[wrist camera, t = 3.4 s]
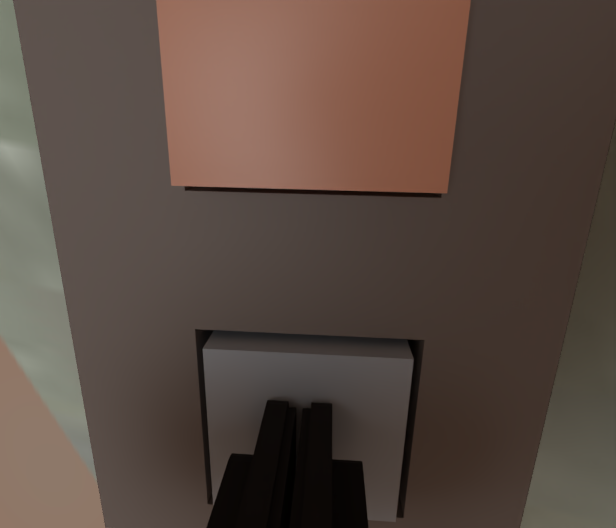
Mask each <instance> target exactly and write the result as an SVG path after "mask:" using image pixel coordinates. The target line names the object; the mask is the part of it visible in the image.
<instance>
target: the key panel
mask: <svg viewBox="0 0 616 528" xmlns="http://www.w3.org/2000/svg"><path fill="white" fill-rule="evenodd" d="M13 3H14V8H15V14H16V20H17V25H18V31H19V37H20V42H21V48H22V54H23V60H24V65H25V71H26V77H27V82H28V88H29V94H30V100H31V105H32V111H33V117H34V122H35V128H36V134H37V139H38V145H39V151H40V157H41V162H42V168H43V174H44V179H45V185H46V191H47V197H48V202H49V208H50V214H51V219H52V225H53V231H54V236H55V242H56V248H57V254H58V259H59V265H60V271H61V276H62V282H63V288H64V294H65V299H66V305H67V311H68V316H69V322H70V328H71V334H72V339H73V345H74V351H75V356H76V362H77V368H78V373H79V379H80V385H81V391H82V396H83V402H84V408H85V413H86V419H87V425H88V431H89V436H90V442H91V448H92V453H93V459H94V465H95V470H96V476H97V482H98V488H99V493H100V499H101V505H102V510H103V516H104V522H105V527H106V528H206V527H207V524H208V521H209V518H210V515H211V512H212V509H213V496H212V481H211V466H210V451H209V436H208V422H207V407H206V392H205V377H204V362H203V347H204V346H205V344H206V342H207V341H208V339H209V337H210V336H211V334H212V333H213V331H214V330H222V331H243V332H265V333H286V334H307V335H328V336H350V337H371V338H392V339H407V341H408V344H409V347H410V350H411V353H412V355H413V358H414V362H413V371H412V380H411V389H410V398H409V406H408V415H407V424H406V433H405V442H404V451H403V460H402V469H401V478H400V487H399V496H398V505H397V514H396V522H388V521H374V520H368V528H520V525H521V521H522V516H523V512H524V508H525V504H526V499H527V495H528V491H529V487H530V482H531V478H532V474H533V470H534V465H535V461H536V457H537V453H538V448H539V444H540V440H541V436H542V431H543V427H544V423H545V419H546V414H547V410H548V406H549V402H550V397H551V393H552V389H553V385H554V380H555V376H556V372H557V368H558V363H559V359H560V355H561V351H562V346H563V342H564V338H565V334H566V329H567V325H568V321H569V317H570V312H571V308H572V304H573V300H574V295H575V291H576V287H577V283H578V278H579V274H580V270H581V265H582V261H583V257H584V253H585V248H586V244H587V240H588V236H589V231H590V227H591V223H592V219H593V214H594V210H595V206H596V202H597V197H598V193H599V189H600V185H601V180H602V176H603V172H604V168H605V163H606V159H607V155H608V151H609V146H610V142H611V138H612V134H613V129H614V125H615V121H616V0H471V3H470V11H469V19H468V27H467V35H466V44H465V52H464V60H463V68H462V76H461V84H460V92H459V101H458V109H457V117H456V125H455V133H454V141H453V150H452V158H451V166H450V174H449V182H448V190H447V193H414V192H378V191H342V190H306V189H270V188H234V187H198V186H171V176H170V164H169V152H168V140H167V128H166V115H165V103H164V91H163V79H162V67H161V55H160V42H159V30H158V18H157V6H156V0H13Z"/></svg>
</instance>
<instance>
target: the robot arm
mask: <svg viewBox="0 0 616 528" xmlns="http://www.w3.org/2000/svg"><path fill="white" fill-rule="evenodd" d="M206 528H368V517H367V506H366V495H365V484H364V472H363V464H362V461H353V460H337V459H332V403H314V402H311V408H303V410H302V419H301V428H300V437H299V446H298V455H297V464H296V407H289V402H288V401H276V400H267V403H266V406H265V410H264V414H263V418H262V422H261V426H260V430H259V434H258V438H257V442H256V446H255V450H254V454H236V453H232V454H231V455H230V457H229V460H228V462H227V466H226V469H225V472H224V475H223V478H222V481H221V484H220V487H219V490H218V493H217V496H216V500H215V503H214V506H213V509H212V512H211V515H210V518H209V521H208V524H207V527H206Z"/></svg>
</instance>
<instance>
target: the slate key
mask: <svg viewBox="0 0 616 528" xmlns="http://www.w3.org/2000/svg"><path fill="white" fill-rule="evenodd" d="M203 362H204V377H205V392H206V407H207V422H208V436H209V451H210V466H211V481H212V496H213V506H214V503H215V500H216V496H217V493H218V490H219V487H220V484H221V481H222V478H223V475H224V472H225V469H226V466H227V462H228V460H229V457H230V455H231V454H232V453H236V454H254V450H255V446H256V442H257V438H258V434H259V430H260V426H261V422H262V418H263V414H264V410H265V406H266V403H267V400H276V401H288V402H289V407H296V464H297V455H298V446H299V437H300V428H301V419H302V410H303V408H311V402H314V403H332V459H337V460H353V461H362V464H363V472H364V484H365V495H366V506H367V517H368V520H374V521H388V522H396V514H397V505H398V496H399V487H400V478H401V469H402V460H403V451H404V442H405V433H406V424H407V415H408V406H409V398H410V389H411V380H412V371H413V362H414V358H413V355H412V353H411V350H410V347H409V344H408V341H407V339H392V338H371V337H350V336H328V335H307V334H286V333H265V332H243V331H222V330H214V331H213V333H212V334H211V336H210V337H209V339H208V341H207V342H206V344H205V346H204V347H203Z"/></svg>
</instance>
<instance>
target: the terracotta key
mask: <svg viewBox="0 0 616 528" xmlns="http://www.w3.org/2000/svg"><path fill="white" fill-rule="evenodd" d="M470 3H471V0H156V6H157V18H158V30H159V42H160V55H161V67H162V79H163V91H164V103H165V115H166V128H167V140H168V152H169V164H170V176H171V186H198V187H234V188H270V189H306V190H342V191H378V192H414V193H447V190H448V182H449V174H450V166H451V158H452V150H453V141H454V133H455V125H456V117H457V109H458V101H459V92H460V84H461V76H462V68H463V60H464V52H465V44H466V35H467V27H468V19H469V11H470Z"/></svg>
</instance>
